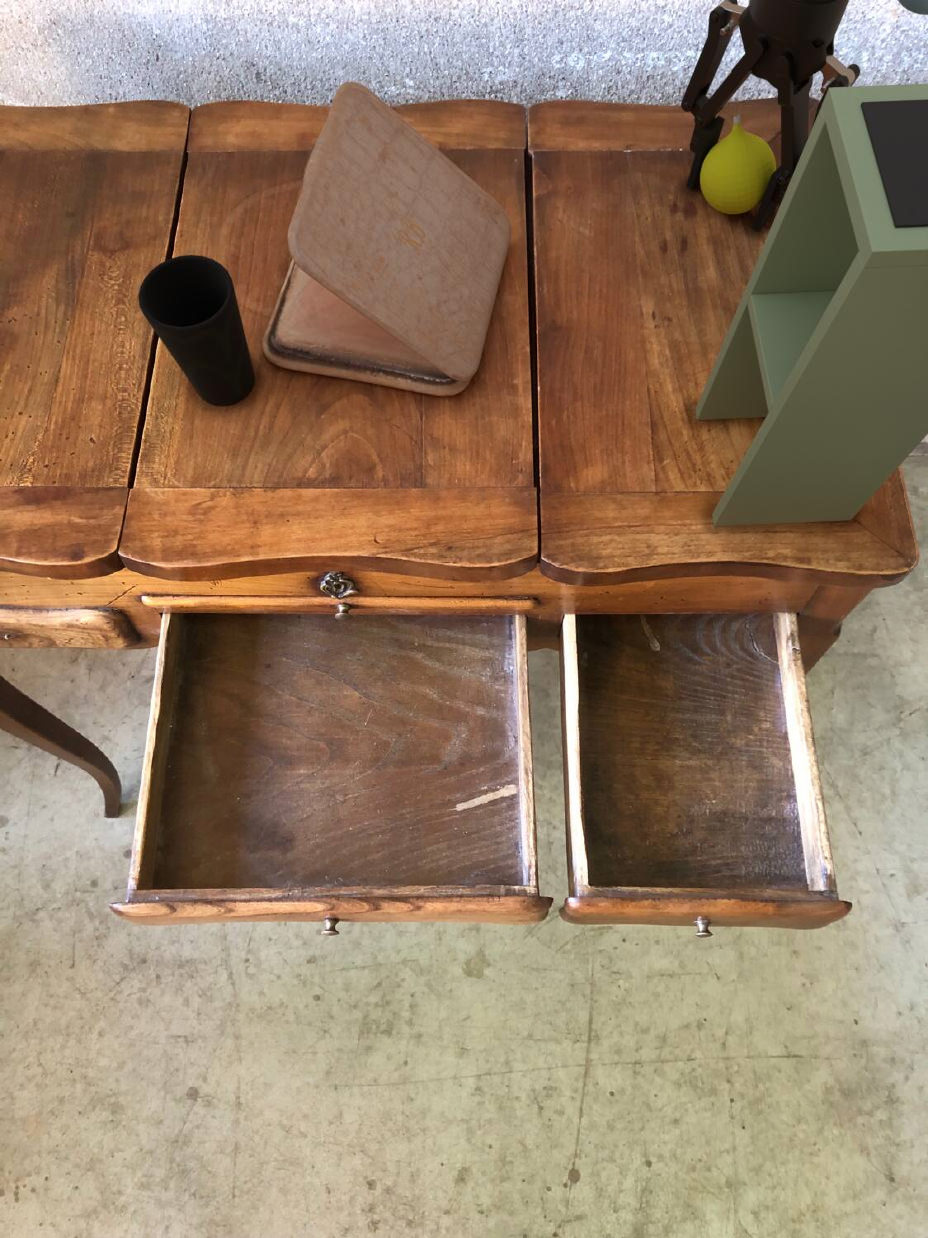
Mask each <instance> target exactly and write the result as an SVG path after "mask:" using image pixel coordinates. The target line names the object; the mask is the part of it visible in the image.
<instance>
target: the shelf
mask: <svg viewBox="0 0 928 1238" xmlns="http://www.w3.org/2000/svg"><path fill="white" fill-rule="evenodd" d="M813 123H814V122H813ZM812 127H813V128H812ZM812 127H811V131H810V133H809V134H808V140H807V142H806V145H805V147H804V150H803V152H802V154H801V157H800V159H799V162H798V164H797V166H796V169H795V171H794V174H793V176H792V178H791V181H790V183H789V186H788V188H787V190H786V193H785V195H784V198H783V200H782V202H781V205H780V206H779V207H778V209H777V212H776V214H775V217H774V220H773V221H772V224H771V227H770V229H769V231H768V233H767V237H766V239H765V241H764V243H763V246H762V248H761V250H760V253H759V256H758V258H757V260H756V263H755V265H754V267H753V269H752V272H751V274H750V277H749V279H748V281H747V284H746V287H745V289H744V291H743V294H742V296H741V299H740V301H739V304H738V306H737V309H736V311H735V312H734V315H733V318H732V320H731V323H730V325H729V327H728V330H727V332H726V335H725V337H724V340H723V342H722V344H721V346H720V348H719V351H718V354H717V356H716V358H715V361H714V363H713V366H712V368H711V370H710V373H709V375H708V378H707V380H706V383H705V385H704V387H703V390H702V392H701V395H700V397H699V399H698V401H697V404H696V406H695V409H694V410H695V417H696V421H712V420H732V419H733V420H735V419H759V418H764V420H763V422H762V424H761V426H760V428H759V429H758V431H757V432H756V434H755V436H754V437H753V440H752V442H751V443H750V445H749V447H748V448H747V450H746V452H745V454H744V456H743V457H742V460H741V462H740V463H739V465H738V467H737V468H736V470H735V472H734V474H733V476H732V477H731V479H730V481H729V483H728V485H727V487H726V488H725V491H724V492H723V493H722V495H721V497H720V499H719V501H718V503H717V505H715V506H716V507H715V508H714V510H713V512H712V513H711V516H712V523H713V527H729V526H749V525H750V526H751V525H774V524H797V523H798V524H799V523H819V522H842V521H843V522H844V521H851V520H853V518H855V516H856V515H858V513H859V512H860V511H861V510H862V509H863V507H864V506H865V505H866V503H868V502H869V501H870V499H871V498H873V496H874V495H875V494H876V493H877V492H878V491H879V489H880V488H881V487H882V486H883V485H884V484H885V483H886V482H887V481H888V480H889V478H890V477H891V476H892V475H893V473H895V472H896V470H898V468H899V467H900V465H902V464H903V462H904V461H905V460H906V459H907V458H908V457H909V456H910V455H911V454H912V452H913V451H914V450H915V449H916V448H917V447H918V446H919V445H920V444H921V442H922V441H924V439H925V438H926V436H928V83H910V84H907V83H906V84H905V83H904V84H884V85H883V84H881V85H861V86H852V87H833V88H829V89H828V92H827V94H826V96H825V99H824V101H823V104H822V107H821V109H820V111H819V114H818V116H817V118H816V121H815V123H814V126H813V125H812Z"/></svg>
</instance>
